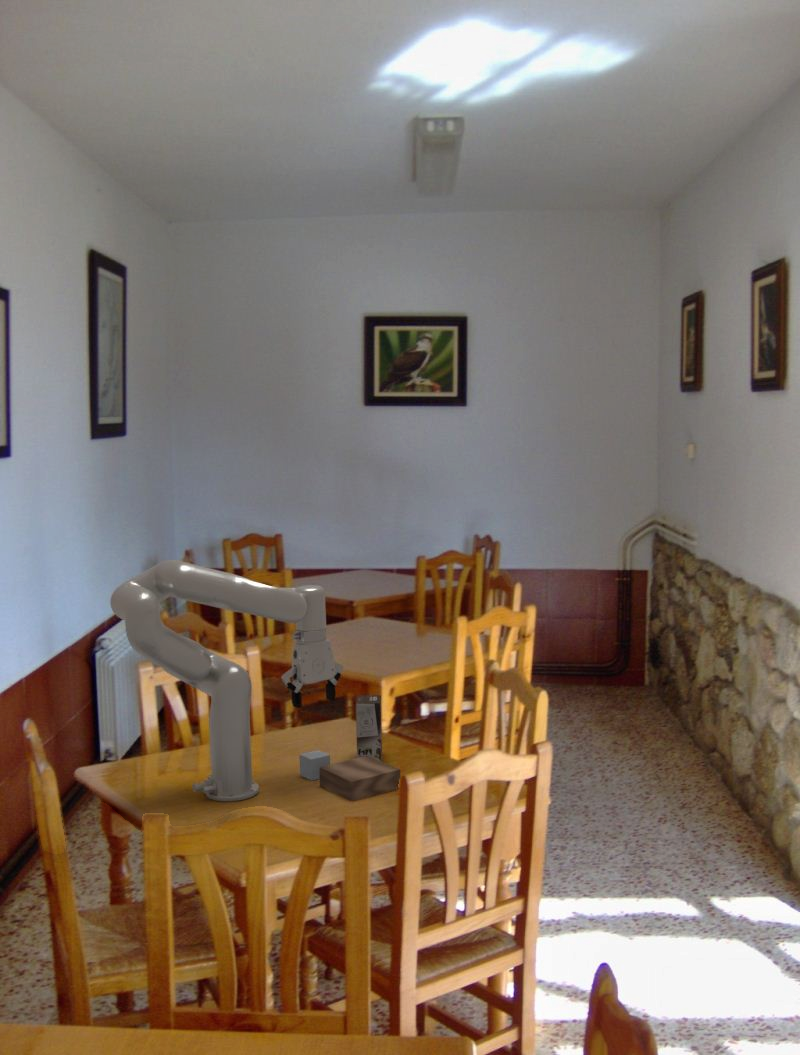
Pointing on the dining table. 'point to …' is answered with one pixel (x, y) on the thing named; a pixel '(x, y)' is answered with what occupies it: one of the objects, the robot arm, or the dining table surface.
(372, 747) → the coffee box
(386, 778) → the walnut block
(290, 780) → the dining table surface
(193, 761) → the dining table surface
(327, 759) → the grey blue cube
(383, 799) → the dining table surface
